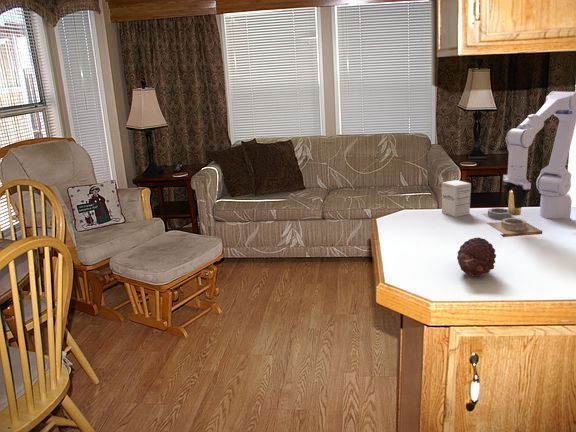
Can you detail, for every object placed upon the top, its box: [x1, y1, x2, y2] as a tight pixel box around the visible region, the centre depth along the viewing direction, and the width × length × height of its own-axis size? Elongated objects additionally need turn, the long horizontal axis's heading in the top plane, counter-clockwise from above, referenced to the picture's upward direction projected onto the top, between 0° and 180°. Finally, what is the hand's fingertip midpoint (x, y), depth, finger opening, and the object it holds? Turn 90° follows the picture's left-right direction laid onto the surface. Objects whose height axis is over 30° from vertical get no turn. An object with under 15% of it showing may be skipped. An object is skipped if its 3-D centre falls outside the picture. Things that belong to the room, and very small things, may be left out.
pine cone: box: [456, 237, 497, 278], centre depth 149 cm, size 18×10×10 cm, turn 160°
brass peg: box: [507, 189, 522, 217], centre depth 183 cm, size 4×4×8 cm
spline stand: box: [482, 207, 516, 222], centre depth 198 cm, size 9×9×3 cm
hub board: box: [486, 217, 543, 238], centre depth 185 cm, size 13×13×3 cm
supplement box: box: [441, 179, 472, 217], centre depth 203 cm, size 7×7×13 cm
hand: (514, 206), depth 183 cm, fingers closed on brass peg, 4 cm apart
